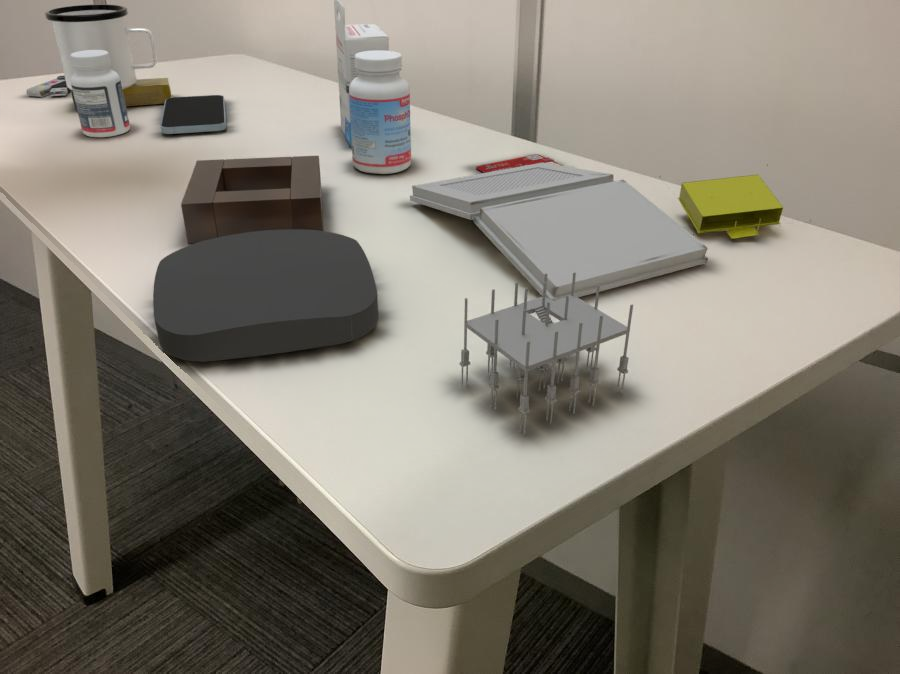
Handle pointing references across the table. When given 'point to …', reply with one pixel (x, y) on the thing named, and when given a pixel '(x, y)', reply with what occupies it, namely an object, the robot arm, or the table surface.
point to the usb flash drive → (56, 88)
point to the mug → (97, 37)
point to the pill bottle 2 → (380, 113)
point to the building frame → (545, 340)
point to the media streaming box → (263, 294)
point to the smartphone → (193, 114)
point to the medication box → (145, 92)
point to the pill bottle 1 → (98, 95)
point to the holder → (252, 196)
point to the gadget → (568, 226)
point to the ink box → (352, 57)
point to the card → (515, 163)
